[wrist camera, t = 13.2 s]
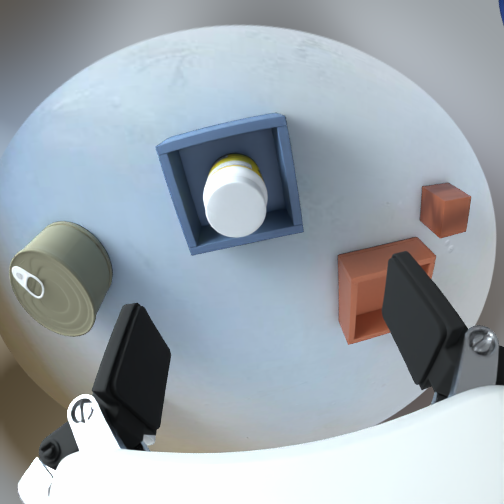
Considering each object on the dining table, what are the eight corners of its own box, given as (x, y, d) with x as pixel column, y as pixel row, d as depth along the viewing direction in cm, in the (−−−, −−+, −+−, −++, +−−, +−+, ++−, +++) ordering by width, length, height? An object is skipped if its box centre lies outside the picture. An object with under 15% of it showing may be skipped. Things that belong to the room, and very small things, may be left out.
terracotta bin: (337, 254, 31) (351, 278, 27) (416, 236, 30) (436, 255, 27) (338, 320, 37) (348, 345, 33) (406, 301, 36) (420, 322, 32)
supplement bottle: (257, 202, 27) (267, 246, 19) (208, 199, 26) (198, 242, 19) (263, 153, 24) (276, 179, 17) (210, 149, 24) (200, 173, 16)
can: (96, 313, 34) (80, 350, 28) (30, 267, 29) (5, 298, 23) (129, 257, 29) (109, 296, 24) (50, 200, 25) (16, 228, 19)
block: (421, 186, 27) (444, 201, 23) (448, 182, 27) (471, 196, 23) (419, 220, 29) (440, 238, 25) (445, 215, 29) (466, 231, 25)
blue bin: (168, 138, 23) (154, 146, 19) (276, 112, 23) (285, 115, 19) (197, 232, 28) (191, 256, 25) (293, 211, 28) (303, 232, 24)
